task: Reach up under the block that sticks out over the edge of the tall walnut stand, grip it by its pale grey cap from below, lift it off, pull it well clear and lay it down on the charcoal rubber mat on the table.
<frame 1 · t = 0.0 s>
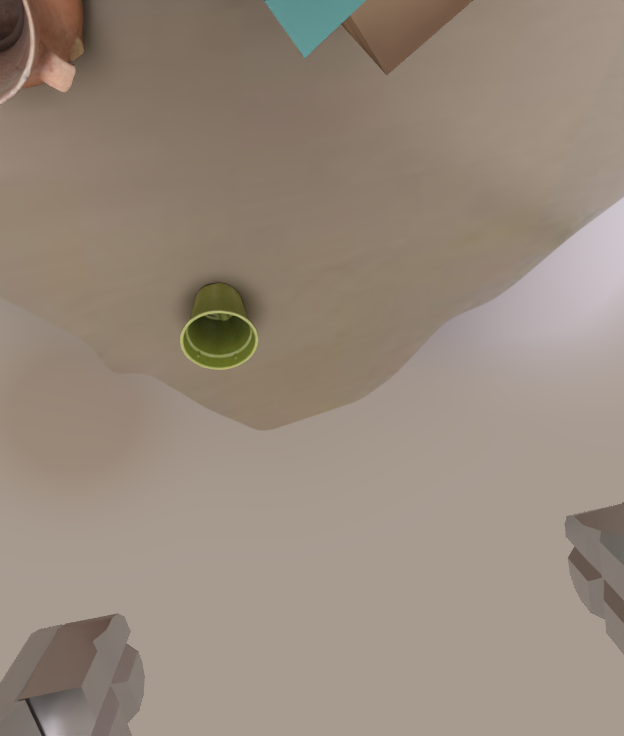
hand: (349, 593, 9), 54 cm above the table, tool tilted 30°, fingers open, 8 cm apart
plant pot: (218, 299, 70), on the table
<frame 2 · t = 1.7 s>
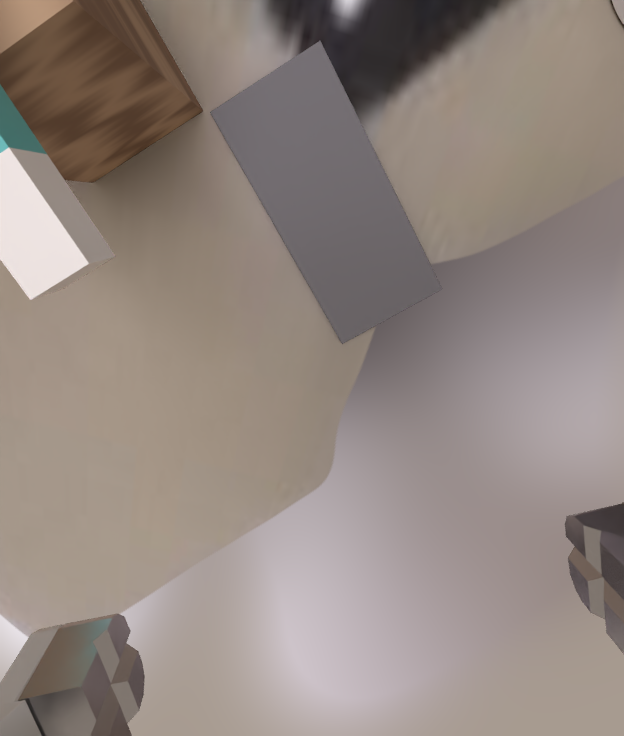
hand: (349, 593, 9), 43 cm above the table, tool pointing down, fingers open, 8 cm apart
mat: (331, 205, 48), on the table
tall stand: (113, 93, 45), on the table
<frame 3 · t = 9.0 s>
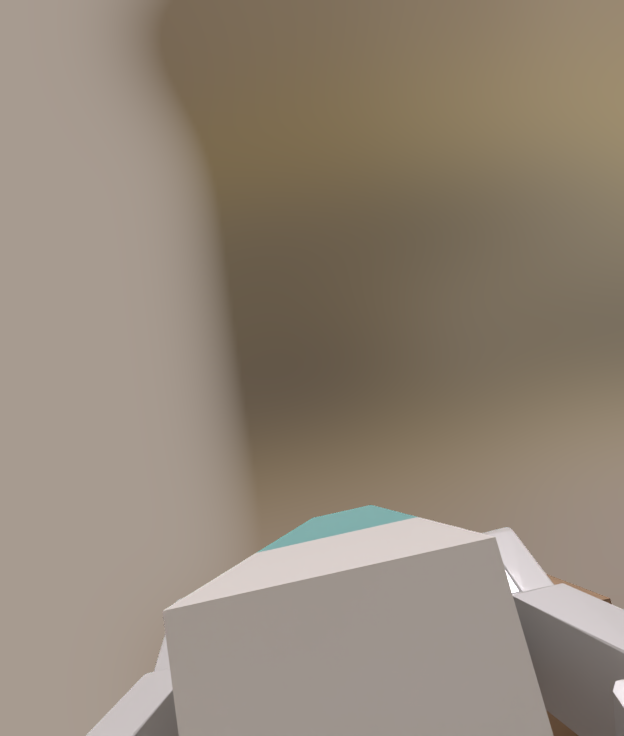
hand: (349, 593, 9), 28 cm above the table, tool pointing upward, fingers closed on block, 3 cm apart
block: (363, 630, 14), point 26 cm above the table, touching gripper, tall stand
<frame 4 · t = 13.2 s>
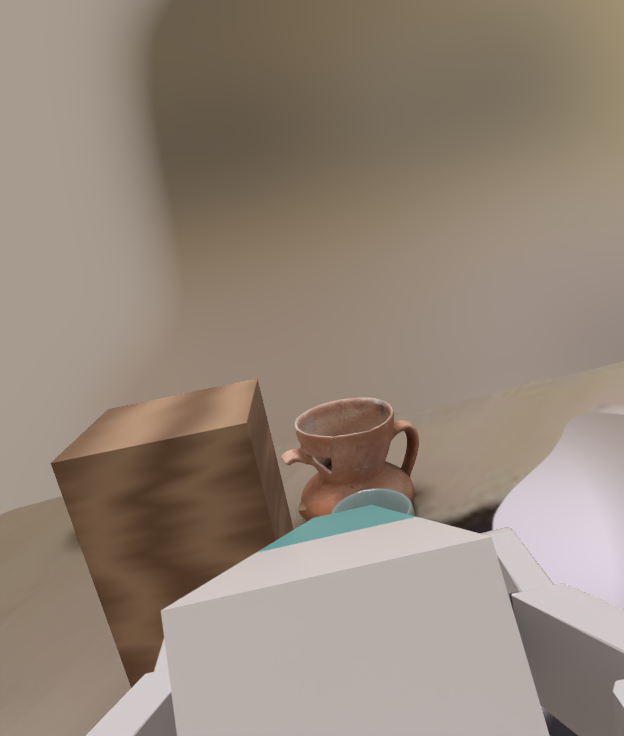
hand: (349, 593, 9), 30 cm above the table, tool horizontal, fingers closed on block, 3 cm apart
block: (364, 630, 14), point 25 cm above the table, tilted 29°, touching gripper
cup: (388, 598, 52), on the table
ceramic jug: (366, 515, 67), on the table
tall stand: (253, 710, 42), on the table
when the fingers open (7 cm above the table, at t = 16.5 s): block drops 3 cm, resting on mat.
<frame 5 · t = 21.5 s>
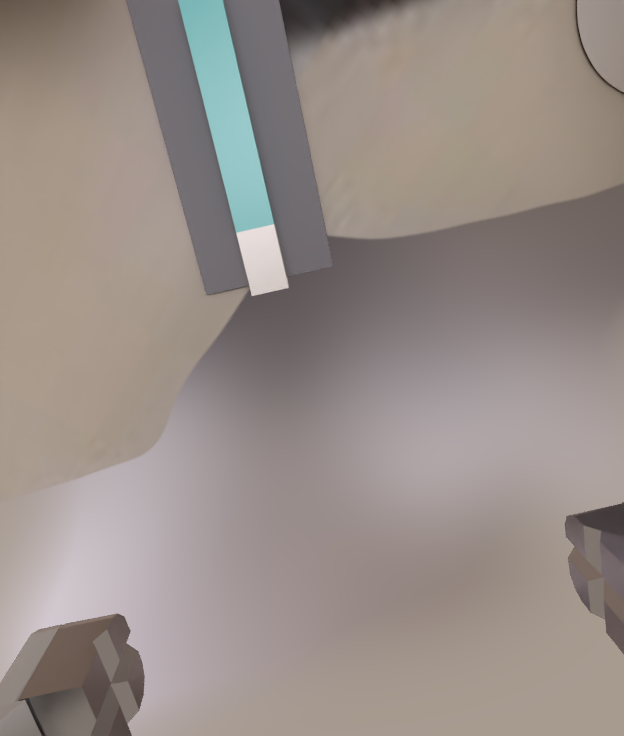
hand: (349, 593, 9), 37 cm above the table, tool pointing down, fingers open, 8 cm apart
block: (239, 152, 41), resting on mat
mat: (234, 131, 41), on the table
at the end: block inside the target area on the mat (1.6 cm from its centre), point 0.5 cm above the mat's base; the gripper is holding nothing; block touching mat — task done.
